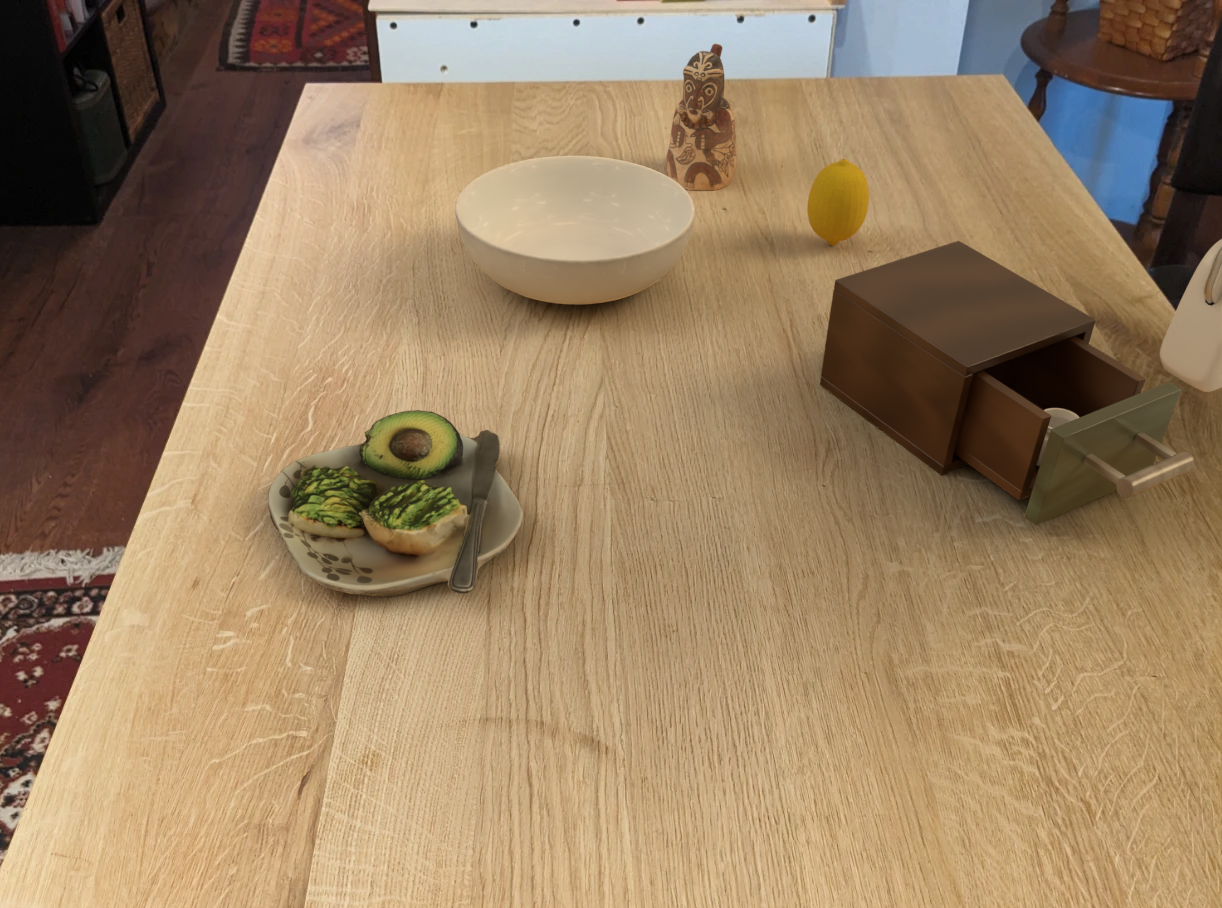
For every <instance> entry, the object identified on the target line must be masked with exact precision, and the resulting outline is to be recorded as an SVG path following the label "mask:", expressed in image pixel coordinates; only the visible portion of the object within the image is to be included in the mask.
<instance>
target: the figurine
mask: <svg viewBox="0 0 1222 908" xmlns="http://www.w3.org/2000/svg"><path fill="white" fill-rule="evenodd" d="M722 52H723V46H722V45H721V44H719V43H713V44H712V45H711V47H710V51H709V50H700V51H698V52H696V53H695V54H693V56H691V57H690V58H689V61H688V62H687V64H686V65H685V66H684V67H683V69H682V75H683V86H682V89H683V90H682V99H681V101H679V103H678V105H677V106H676V108H675V110H674V114H673V118H672V123H671V130H670V138H669V144H668V145H669V146H668V149H667V153H666V156H665V159H666V163H665V164H666V165H665V169H666V172H667V176H668V177H670V178H671V179H673V180H674V181H676V182H677V183H679V184H680V185H681V186H682V187H683V188H684V189H685V190H686V191H687V190H688V191H716V190H719V189H722V188H725V187H727V186H728V185H730V184H731V183H732V181H733V179H734V177H735V174H736V170H737V164H738V163H737V162H738V157H737V156H738V153H737V150H738V149H737V130H736V118H735V114H734V111H733V108H732V106H731V104H730V103H729V101H728V100H727V99H726V98H725V97H724V94H725V71H724V65H723V61H722V59H721V56H722Z"/></svg>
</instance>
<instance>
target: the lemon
mask: <svg viewBox="0 0 1222 908" xmlns="http://www.w3.org/2000/svg"><path fill="white" fill-rule="evenodd" d="M869 189H870V188H869V183H868V179H867V177H866V174H865V173H864V172H863V171H862V169H861V168H859V166H857V165H856V164H854V163H852V162H850V161H849V160H848V159H847V158H840V160H838V161H834V162H831V163H830V164H827V165H825V167H824V168H822V169H821V170H820V171H819V172H818V174H817V175H816V176H815V178H814V180H813V183H812V185H811V187H810V190H809V194H808V199H807V208H806V209H807V218H808V223H809V225H810V227H811V229H812V231H813V232H814V233H815V235H817V236H818V237H819V238H820V239H823V240H824V241H826V242H827V243H828V245H830V246H836V245H837V244H838V243H839V242H842V241H846V240H848V239H851V238H852V237H853V236H854V235H855V234H857V233H858V231H859V230H860V228H861V227H862V226H863V224H864V222H865V220H866V217H867V214H868V209H869V203H870V202H869V201H870V190H869Z"/></svg>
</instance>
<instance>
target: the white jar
mask: <svg viewBox="0 0 1222 908" xmlns="http://www.w3.org/2000/svg"><path fill="white" fill-rule="evenodd" d="M1044 411H1045V412H1047V413H1048V414H1050V415H1051V419H1050V422H1049V426H1048V429H1047V432H1046V435H1045V439H1044V442H1043V445H1042V449H1041V452H1040V455H1039V459H1038V462H1037V466H1040V464H1041V461H1042V457H1043V454H1044V451H1045V448H1046V444H1047V441H1048V438H1049V434H1050V431H1051V429H1053V428H1055V427H1058V426H1060V425H1062V424H1065V423H1067V422H1070V421H1072V420H1075V419H1077V418H1080V417H1079V416H1078V415H1077V414H1075V413H1073V412H1071V411H1069V410H1066V409H1061V408H1049V409H1045V410H1044Z"/></svg>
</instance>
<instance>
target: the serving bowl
mask: <svg viewBox="0 0 1222 908" xmlns="http://www.w3.org/2000/svg"><path fill="white" fill-rule="evenodd" d="M454 215H455V219H456V220H455V221H456V224H457V228H458V232H459V235H460V238H461V240H462V243H463V246H464V248H465V250H466V251H467V253H468V255H469V257H470V258H471V260H472V261H473V262H474V264H476V266H477V267H478V268H479V270H481V271H482V273H484V274H485V276H487V277H488V278H490V279H491V280H492V281H493V282H495V283H496V284H498V285H499V286H501V287H503V288H504V289H506V290H508V291H511V292H512V293H514V294H517V295H519V296H522V297H525V298H527V299H531V300H532V299H533V300H536V301H540V302H546V303H551V304H559V305H560V304H561V305H592V304H593V305H594V304H601V303H609V302H613V301H617V300H622V299H625V298H627V297H631V296H633V295H636V294H639V293H641V292H643V291H645V290H647V289H649V288H650V287H652V286H654V285H655V284H656V283H658V282H659V281H661V280H662V279H664V278H665V277H666V276H667V275H668V274H669V273H670V272H671V271H672V269H673V268H674V267H675V266H676V265H677V263H678V262H679V261H680V259H681V258H682V256H683V254H684V252H685V250H686V249H687V247H688V244H689V241H690V239H691V236H692V231H693V227H694V223H695V219H696V207H695V202H694V201H693V198H692V197H691V196H690V193H689V192H688V191H687V189H684V188H683V187H682V186H681V185H680V184H679V183H677V182H676V181H674V180H673V179H671V178H670V177H668V175H666V174H664V173H662V172H660V171H658V170H655V169H653V168H650V167H648V166H645V165H641V164H638V163H634V162H632V161H626V160H622V159H617V158H611V157H603V156H602V157H601V156H593V155H556V156H555V155H554V156H543V157H533V158H529V159H524V160H523V159H522V160H520V161H515V162H514V161H513V162H511V163H507V164H504V165H501V166H498V167H495V168H493V169H490V170H489V171H486V172H483V173H482V174H481V175H479V176H478V177H475V178H474V179H473V180H471V181H470V182H469V183H468V184H467V185H465V186H464V187H463V189H462V190H461V191H460V193H458V196H457V198H456V201H455V204H454Z"/></svg>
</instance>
